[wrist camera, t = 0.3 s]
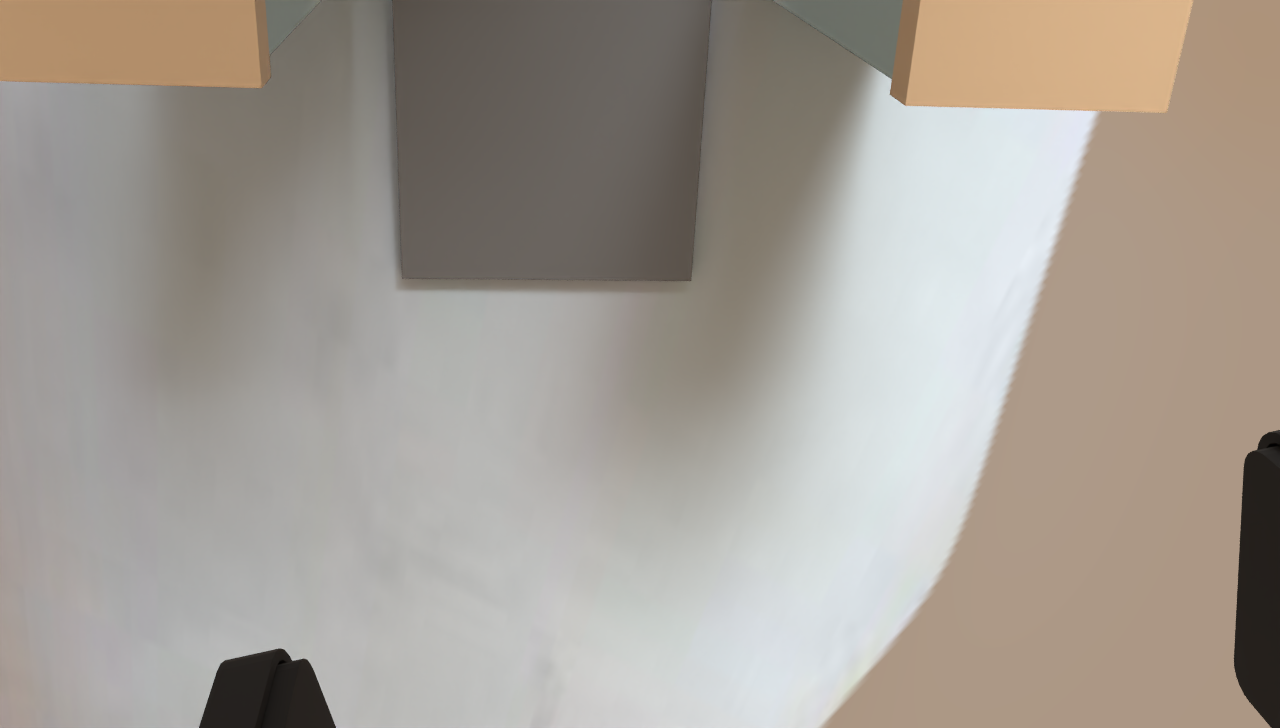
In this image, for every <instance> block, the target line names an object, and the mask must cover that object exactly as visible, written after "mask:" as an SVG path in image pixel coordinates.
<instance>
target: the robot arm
mask: <svg viewBox="0 0 1280 728" xmlns="http://www.w3.org/2000/svg"><path fill="white" fill-rule="evenodd" d="M1242 495H1243V496H1242V513H1241V532H1240V553H1239V572H1238V591H1237V610H1236V630H1235V650H1234V667H1235V672H1236V677H1237V679H1238V682H1239V685H1240V687H1241V689H1242V691H1243V693H1244V695H1245V696H1246V697H1247V699H1248V700H1249V702H1250V703H1251V704H1252V705H1253V706H1254V708H1255V709H1256V710H1257V711H1258V712H1259V713H1260V715H1261V716H1262V717H1263V718H1264V719H1265V721H1266V722H1267V723H1268V724H1269V725H1270V727H1272V728H1280V430H1278V431H1273V432H1269V433H1267V434H1265V435H1264V436H1263V437H1262V438H1261V440H1260V442H1259V444H1258V450H1255V451H1252V452H1250V453H1248V455H1247V457H1246V459H1245V463H1244V475H1243V493H1242ZM199 728H336V726H335V724H334V721H333V719H332V716H331V714H330V711H329V709H328V706H327V703H326V701H325V698H324V696H323V693H322V691H321V688H320V685H319V683H318V680H317V678H316V675H315V673H314V670H313V668H312V666H311V664H310V663H309V661H308V660H306V659H300V660H296V661H292V660H291V658H290V656H289V655H288V653H287V652H286V651H285V650H283V649H275V650H271V651H266V652H262V653H257V654H252V655H248V656H243V657H239V658H234V659H230V660H225V661H224V662H222V663H221V664H220V666H219V668H218V670H217V673H216V676H215V680H214V683H213V686H212V689H211V692H210V695H209V698H208V701H207V704H206V708H205V711H204V714H203V717H202V720H201V723H200V726H199Z"/></svg>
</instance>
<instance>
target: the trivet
mask: <svg viewBox="0 0 1280 728" xmlns="http://www.w3.org/2000/svg"><path fill="white" fill-rule="evenodd" d="M392 3H393V32H394V61H395V89H396V118H397V147H398V176H399V205H400V233H401V262H402V278H413V279H532V280H650V281H691V274H692V261H693V247H694V233H695V220H696V206H697V192H698V179H699V165H700V151H701V137H702V124H703V110H704V96H705V83H706V69H707V55H708V42H709V28H710V14H711V0H392Z"/></svg>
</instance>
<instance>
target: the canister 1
mask: <svg viewBox="0 0 1280 728" xmlns="http://www.w3.org/2000/svg"><path fill="white" fill-rule="evenodd" d="M320 2H321V0H0V81H18V82H55V83H91V84H128V85H164V86H201V87H237V88H262V87H263V86H264V85H265V84H266V83H267V81H268V80H269V79H270V78H271V69H270V56H269V55H270V54H271V53H272V52H273V51H274V50H275V49H276V48H277V47H278V46H279V45H280V44H281V43H282V42H283V41H284V40H285V39H286V37H287V36H288V35H289V34H290V33H291V32H292V31H293V30H294V29H295V28H296V27H297V26H298V25H299V24H300V23H301V22H302V21H303V20H304V18H305V17H306V16H307V15H308V14H309V13H310V12H311V11H312V10H313V9H314V8H315V7H316V6H317V5H318V4H319V3H320Z"/></svg>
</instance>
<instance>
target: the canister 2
mask: <svg viewBox="0 0 1280 728" xmlns="http://www.w3.org/2000/svg"><path fill="white" fill-rule="evenodd" d="M773 1H774V2H776V3H777V4H779V5H780V6H782V7H783V8H785V9H786V10H788V11H789V12H791V13H792V14H794V15H795V16H797V17H798V18H800V19H801V20H803V21H805V22H806V23H808V24H809V25H811V26H812V27H814V28H815V29H817V30H818V31H820V32H821V33H823V34H824V35H826V36H827V37H829V38H830V39H832V40H833V41H835V42H836V43H838V44H839V45H841V46H842V47H844V48H845V49H847V50H849V51H850V52H852V53H853V54H855V55H856V56H858V57H859V58H861V59H862V60H864V61H865V62H867V63H868V64H870V65H871V66H873V67H874V68H876V69H877V70H879V71H880V72H882V73H883V74H885V75H886V76H888V77H889V78H891V79H892V83H891V90H890V95H891V96H892V97H894V98H895V99H897V100H898V101H900V102H901V103H902V104H904V105H905V106H937V107H974V108H1010V109H1047V110H1083V111H1120V112H1158V113H1159V112H1160V113H1166V112H1167V110H1168V106H1169V101H1170V97H1171V93H1172V88H1173V84H1174V80H1175V75H1176V72H1177V67H1178V63H1179V59H1180V55H1181V50H1182V46H1183V42H1184V38H1185V33H1186V29H1187V25H1188V21H1189V16H1190V12H1191V8H1192V4H1193V0H773Z"/></svg>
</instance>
